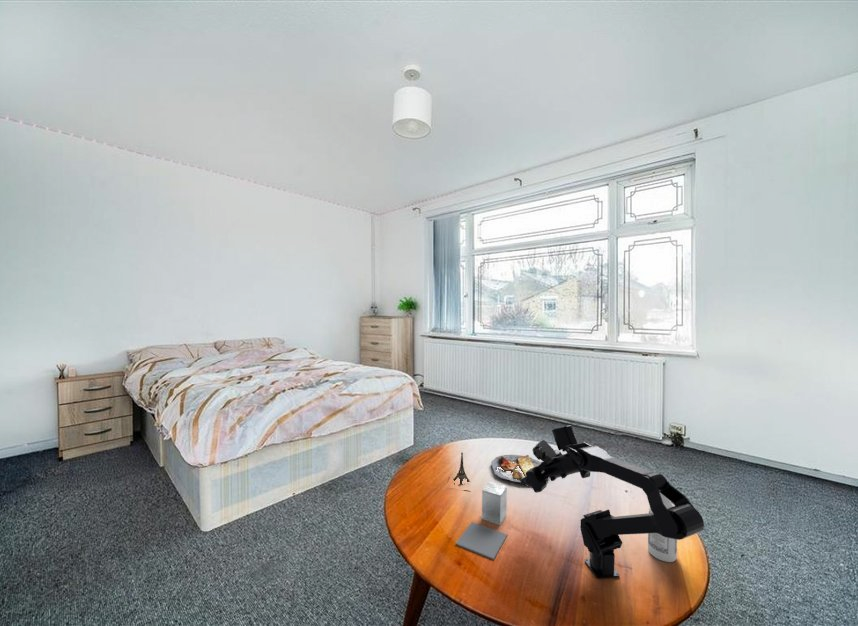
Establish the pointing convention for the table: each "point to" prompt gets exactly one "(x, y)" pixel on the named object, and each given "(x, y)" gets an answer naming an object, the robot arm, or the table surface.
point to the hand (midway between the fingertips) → (528, 475)
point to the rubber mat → (482, 540)
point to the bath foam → (662, 541)
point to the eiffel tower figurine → (461, 472)
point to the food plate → (513, 465)
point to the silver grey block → (494, 503)
